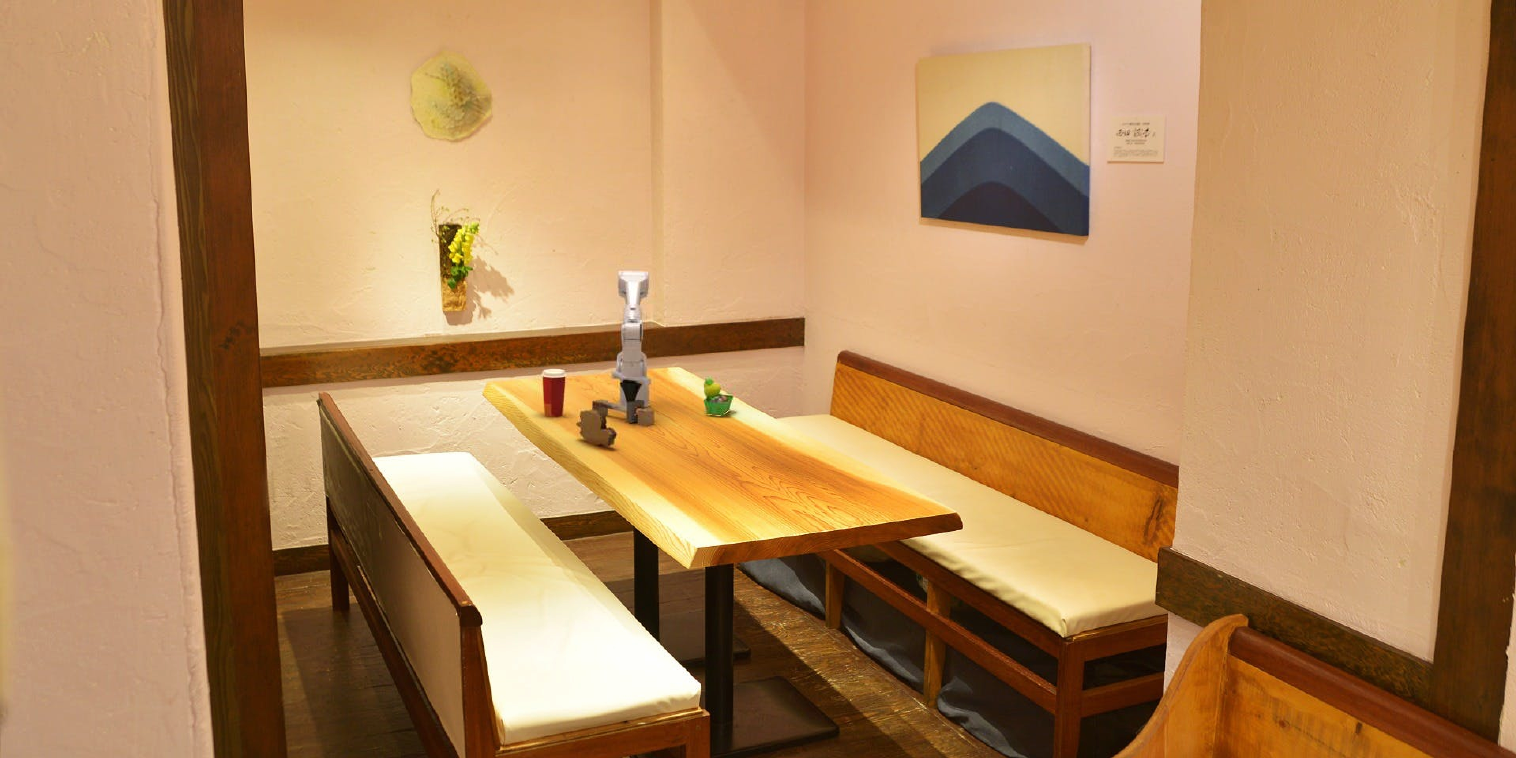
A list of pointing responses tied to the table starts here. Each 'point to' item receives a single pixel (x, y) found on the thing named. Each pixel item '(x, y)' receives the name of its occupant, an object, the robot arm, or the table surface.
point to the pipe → (643, 415)
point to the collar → (630, 410)
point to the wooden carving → (596, 428)
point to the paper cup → (553, 392)
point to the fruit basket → (715, 399)
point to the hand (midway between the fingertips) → (630, 404)
